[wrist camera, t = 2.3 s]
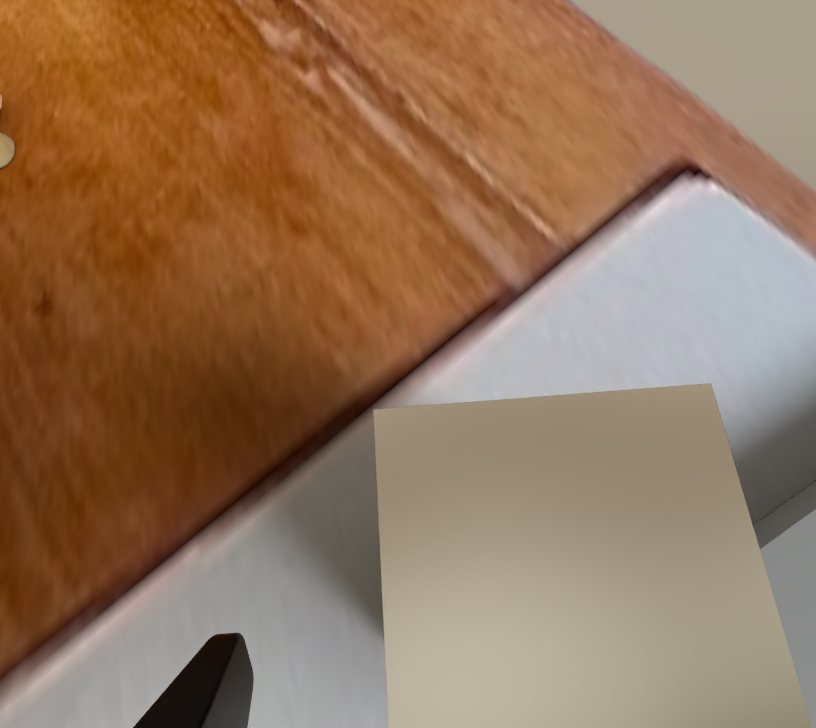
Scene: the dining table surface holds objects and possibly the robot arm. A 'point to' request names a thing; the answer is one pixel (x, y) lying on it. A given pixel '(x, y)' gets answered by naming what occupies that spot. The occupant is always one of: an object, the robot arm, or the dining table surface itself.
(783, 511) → the base plate
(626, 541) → the cream block
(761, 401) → the dining table surface
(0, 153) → the grandmother figurine
